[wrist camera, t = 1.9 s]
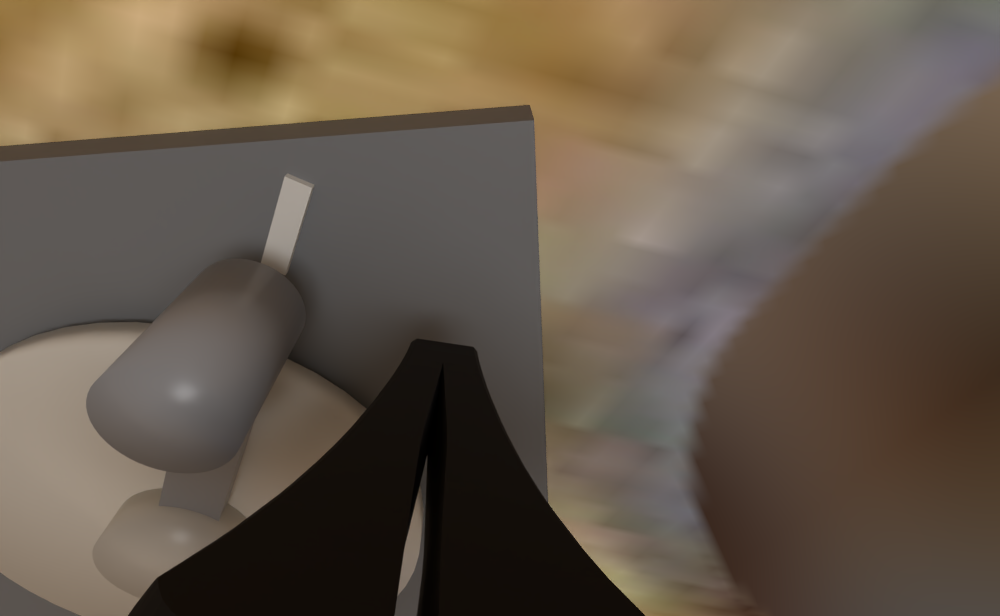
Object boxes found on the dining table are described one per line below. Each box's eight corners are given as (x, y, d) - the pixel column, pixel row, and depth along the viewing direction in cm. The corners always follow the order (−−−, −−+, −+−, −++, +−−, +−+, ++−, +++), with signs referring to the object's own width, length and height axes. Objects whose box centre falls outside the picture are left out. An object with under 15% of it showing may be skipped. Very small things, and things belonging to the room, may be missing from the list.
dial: (350, 648, 22) (318, 797, 18) (-37, 566, 19) (-181, 727, 15) (549, 347, 14) (572, 498, 10) (-77, 101, 10) (-429, 179, 6)
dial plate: (550, 612, 24) (553, 653, 23) (77, 637, 25) (51, 678, 23) (529, 104, 12) (534, 122, 11) (-372, 175, 13) (-481, 200, 11)
